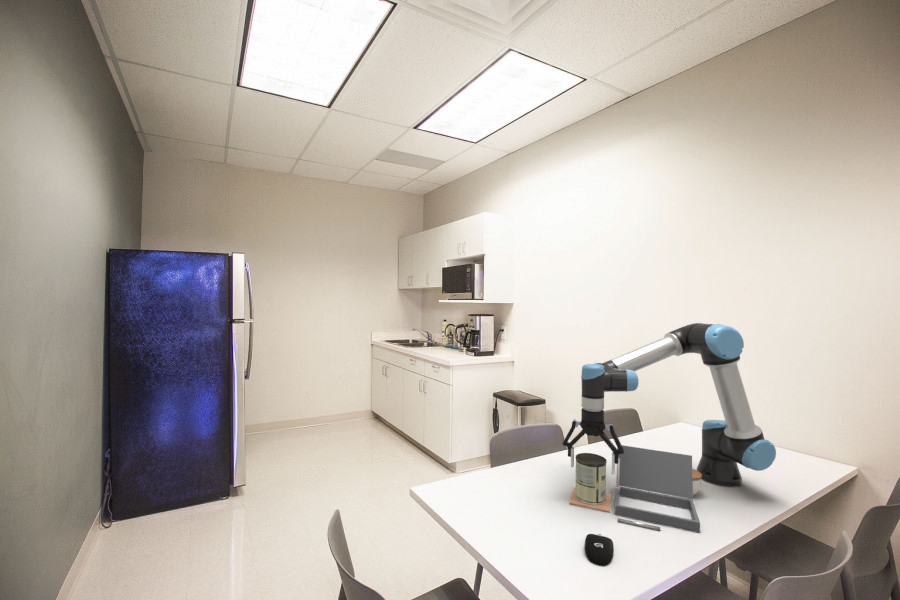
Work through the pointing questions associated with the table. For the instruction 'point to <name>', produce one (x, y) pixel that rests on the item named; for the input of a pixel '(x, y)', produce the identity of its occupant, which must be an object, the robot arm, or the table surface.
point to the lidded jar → (696, 481)
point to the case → (656, 485)
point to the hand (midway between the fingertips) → (592, 469)
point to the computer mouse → (599, 549)
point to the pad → (602, 507)
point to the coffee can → (590, 478)
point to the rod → (638, 524)
